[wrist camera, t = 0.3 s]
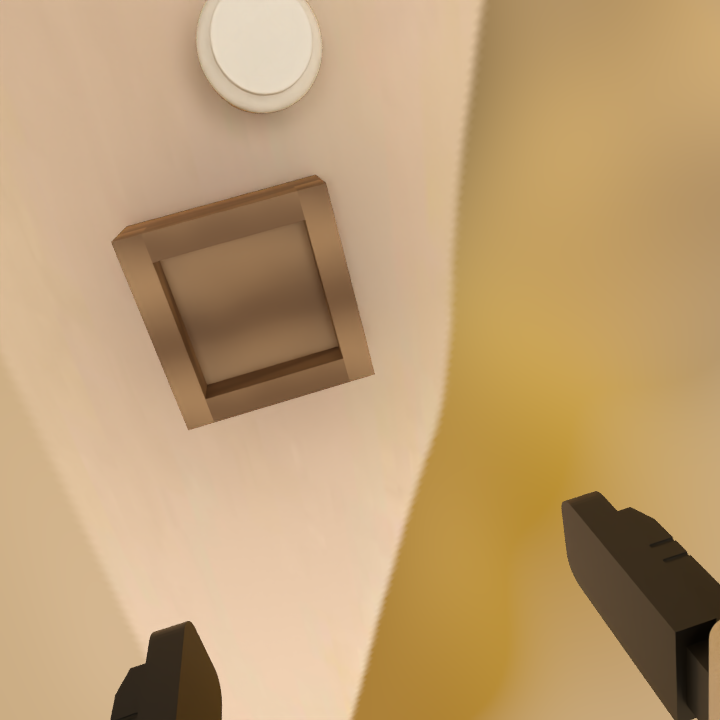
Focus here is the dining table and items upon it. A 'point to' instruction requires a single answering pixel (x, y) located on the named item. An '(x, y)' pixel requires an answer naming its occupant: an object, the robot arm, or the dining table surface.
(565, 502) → the robot arm
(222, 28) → the supplement bottle
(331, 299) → the wooden open box
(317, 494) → the dining table surface
